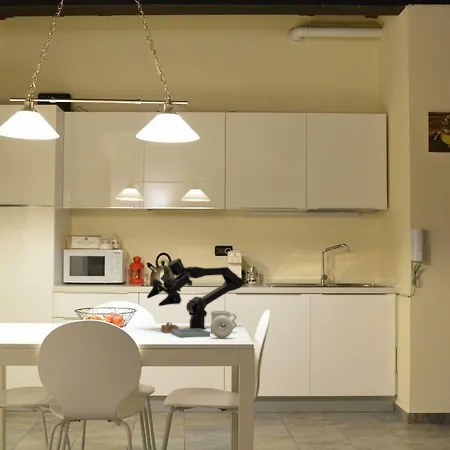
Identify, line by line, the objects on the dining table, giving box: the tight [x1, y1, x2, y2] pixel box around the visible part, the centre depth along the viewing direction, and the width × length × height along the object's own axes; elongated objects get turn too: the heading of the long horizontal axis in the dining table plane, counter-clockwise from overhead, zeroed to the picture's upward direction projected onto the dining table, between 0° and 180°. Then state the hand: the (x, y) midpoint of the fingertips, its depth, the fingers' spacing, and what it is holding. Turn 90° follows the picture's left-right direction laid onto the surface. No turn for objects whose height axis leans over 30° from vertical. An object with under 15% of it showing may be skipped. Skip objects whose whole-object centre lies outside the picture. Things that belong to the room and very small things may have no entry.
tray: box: [170, 328, 211, 338], centre depth 303 cm, size 14×14×2 cm
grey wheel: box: [210, 315, 234, 339], centre depth 294 cm, size 10×4×10 cm, turn 87°
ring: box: [160, 322, 179, 334], centre depth 313 cm, size 6×6×4 cm
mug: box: [210, 310, 237, 333], centre depth 314 cm, size 12×9×10 cm
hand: (153, 301), depth 316 cm, fingers open, 9 cm apart
